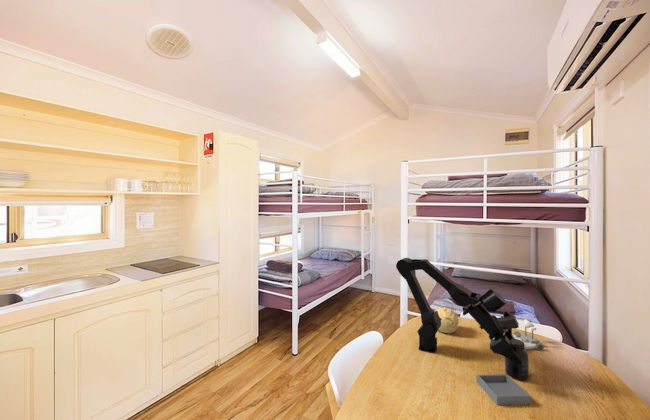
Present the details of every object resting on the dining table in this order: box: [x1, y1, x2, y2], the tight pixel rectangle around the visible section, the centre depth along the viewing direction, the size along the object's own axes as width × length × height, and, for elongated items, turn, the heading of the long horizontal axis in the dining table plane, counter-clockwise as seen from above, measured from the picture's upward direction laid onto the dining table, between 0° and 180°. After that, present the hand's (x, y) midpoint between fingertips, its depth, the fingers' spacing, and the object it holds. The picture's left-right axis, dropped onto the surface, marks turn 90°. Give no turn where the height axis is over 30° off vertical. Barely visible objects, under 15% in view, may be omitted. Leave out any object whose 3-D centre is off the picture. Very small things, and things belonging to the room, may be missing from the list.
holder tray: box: [476, 373, 531, 406], centre depth 83 cm, size 10×10×2 cm
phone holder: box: [488, 319, 544, 352], centre depth 112 cm, size 18×10×12 cm
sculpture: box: [434, 306, 459, 334], centre depth 125 cm, size 12×12×11 cm
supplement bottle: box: [504, 338, 530, 382], centre depth 91 cm, size 7×7×12 cm
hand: (521, 357), depth 90 cm, fingers open, 9 cm apart
